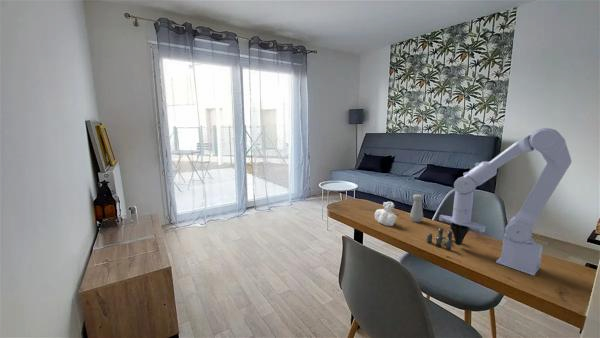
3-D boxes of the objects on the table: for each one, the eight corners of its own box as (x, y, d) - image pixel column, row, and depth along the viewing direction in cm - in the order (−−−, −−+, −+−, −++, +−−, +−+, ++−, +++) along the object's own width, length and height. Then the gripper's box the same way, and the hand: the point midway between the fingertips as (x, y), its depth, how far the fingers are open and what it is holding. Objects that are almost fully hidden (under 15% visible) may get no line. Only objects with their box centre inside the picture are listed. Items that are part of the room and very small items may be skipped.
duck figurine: (396, 231, 113) (407, 210, 115) (388, 224, 109) (399, 202, 112) (376, 223, 123) (386, 203, 126) (367, 216, 120) (378, 196, 122)
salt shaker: (424, 223, 117) (426, 196, 115) (411, 222, 118) (413, 196, 116) (420, 219, 123) (423, 193, 121) (408, 218, 124) (410, 192, 122)
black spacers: (462, 243, 97) (463, 234, 96) (449, 251, 91) (450, 241, 90) (439, 235, 104) (439, 227, 103) (426, 242, 98) (427, 233, 97)
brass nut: (450, 243, 97) (451, 238, 97) (445, 246, 95) (446, 241, 94) (437, 238, 101) (437, 233, 101) (432, 241, 99) (432, 236, 99)
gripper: (490, 212, 88) (485, 248, 90) (446, 202, 99) (443, 234, 101) (482, 216, 83) (478, 254, 86) (437, 205, 95) (434, 239, 97)
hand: (458, 244), depth 93 cm, fingers closed
